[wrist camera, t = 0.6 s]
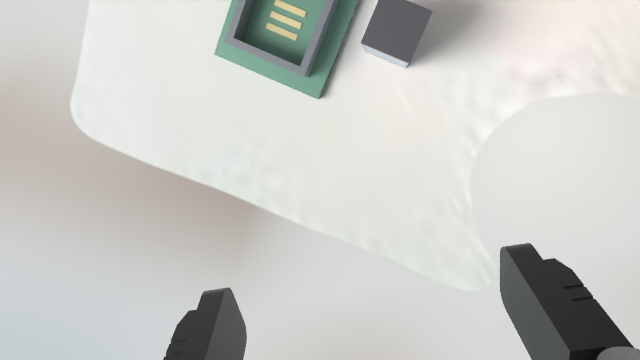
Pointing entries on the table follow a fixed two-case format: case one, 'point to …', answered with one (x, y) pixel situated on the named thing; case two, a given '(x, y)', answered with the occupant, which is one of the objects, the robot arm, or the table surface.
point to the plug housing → (395, 30)
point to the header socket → (286, 39)
